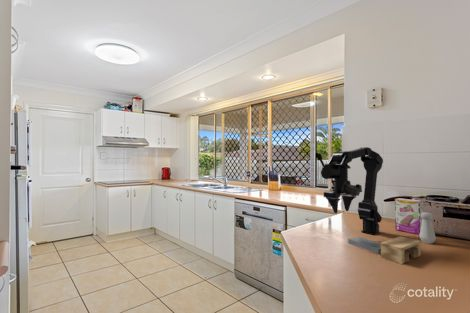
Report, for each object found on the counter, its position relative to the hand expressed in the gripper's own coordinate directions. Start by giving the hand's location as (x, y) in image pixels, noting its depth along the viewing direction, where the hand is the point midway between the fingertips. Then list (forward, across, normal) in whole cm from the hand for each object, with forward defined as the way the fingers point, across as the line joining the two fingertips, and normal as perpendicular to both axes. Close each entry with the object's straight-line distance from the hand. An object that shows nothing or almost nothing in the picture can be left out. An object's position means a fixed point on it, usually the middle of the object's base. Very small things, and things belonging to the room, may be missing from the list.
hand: (341, 212), depth 113 cm
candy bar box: (+13, +40, -12) cm, 43 cm away
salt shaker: (+13, +28, -24) cm, 39 cm away
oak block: (+13, 0, -25) cm, 28 cm away
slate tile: (+13, 0, -12) cm, 18 cm away
